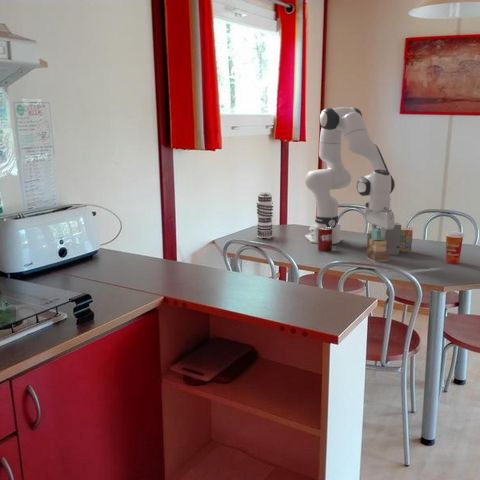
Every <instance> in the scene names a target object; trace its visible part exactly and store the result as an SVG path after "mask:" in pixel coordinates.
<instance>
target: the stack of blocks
mask: <svg viewBox="0 0 480 480" xmlns="http://www.w3.org/2000/svg"><path fill="white" fill-rule="evenodd" d="M413 230H414V228H413V227H406V226H401V236H400V248H399V252H406V253H408V254H412V244H413V232H414V231H413ZM370 239H372V230H368V232H367V240H366V241H367V242H366V243H367V245H366V250H367V249H369V245H370Z"/></svg>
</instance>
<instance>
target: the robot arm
mask: <svg viewBox="0 0 480 480" xmlns="http://www.w3.org/2000/svg"><path fill="white" fill-rule="evenodd" d="M318 120H319V121H318V122H319V125H320V128H321V129H320V134H319V144H318V145H319V147H318V149H319V150H318V156H319V158H320V160H321V161H323V162H324V163H326V167H327V168H324V169H321V168H320V169H314V170H310V171H309V172H307V173H306V175H305V178H304V179H305V182H304V183H305V186H306V188H308V189H309V190H310V191H311V192H312V193H313V195H314V197H315V200H316V215H315V220H314V222H313V224H312V225H310V227H309V228H308V231H307V232H308V234H305V235H304V237H305V238H306V240H308V242H309V243H310V244H311V243H312V244H318V228H319V227H331V228H332V229H333V240H332V245H334V244H339V243H340V242H341V241H343V240H344V239H343V237H341V235H342V234H341V225H340V224H339V219H340V218H339V201H338V200H337V199H336V198H335V197H334V196H332V195H331V193H330V192H331V191H332V190H342V189H344V188H347V187H349V186H350V184H351V182H352V176H351V175H352V174H351V173H350V171H349V170H348V169H347V168H346V167H345V166H344V164H343V162H342V161H343V160H342V156H341V155H342V152H341V151H342V134H343V137H344V142H345V145H346V147H347V149H348V150H349V151H350V152H351V153H353V154H357V155H360V156H362V157H365V158H366V159H367V160H369V161H370V162H371V165H372V168H373V171H372V172H371V173H369V174H366V175H364V176H360V177H359V178H358V180H357V182H356V190H357V193H358V194H359V195H360V196H362V197H370V200H369V201H367V202H365V203H364V207H365V209H364V221H365V222H366V223H367V224H368V223H369V224H371V230H372V229H376V228H378V227H379V228H381V233H380V235H379V236H380V237H384V236H385V232H386V230H391V229H393V228H394V223H395V215H394V212H393V211H392V209H391V194H392V193H393V191H394V189H395V185H396V184H395V180H394V178H393V176H392V174H391V172H390V171H389V169H388V167H387V164H386V162H385V159H384V157H383V155H382V152H381V150H380V148H379V146H378V145H377V144H375V142H374V141H373V140H372V139H371V137H370V135H369V133H368V129H367V125H366V123H365V120H364V118H363V114H362V111H361V109H359V108H357V107H346V106H344V107H343V106H340V107H332V108H331V107H328V108H325V109H323V110H321V112H320V114H319V119H318Z"/></svg>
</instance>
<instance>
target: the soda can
mask: <svg viewBox="0 0 480 480" xmlns="http://www.w3.org/2000/svg"><path fill="white" fill-rule="evenodd" d="M332 240H333V229H332V228H331V227H319V228H318V243H317V252H319V253H321V252H324V253H325V252H326V253H327V252H333V244H332Z"/></svg>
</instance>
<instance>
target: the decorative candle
mask: <svg viewBox="0 0 480 480" xmlns="http://www.w3.org/2000/svg"><path fill="white" fill-rule="evenodd" d="M272 197H273V195H272V193H271V192H267V191H264V192H260V193H259V194H258V195H257V202H256V211H257V212H256V214H257V228H256V229H257V231H256V232H257V234H256V235H257V236H256V237H257V238H258V237H259V238H258V239H262V238H267V239H272V238H273V214H274V212H272V211H273V210H274V205H273V204H274V202H273V200H272ZM271 237H272V238H271Z"/></svg>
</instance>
